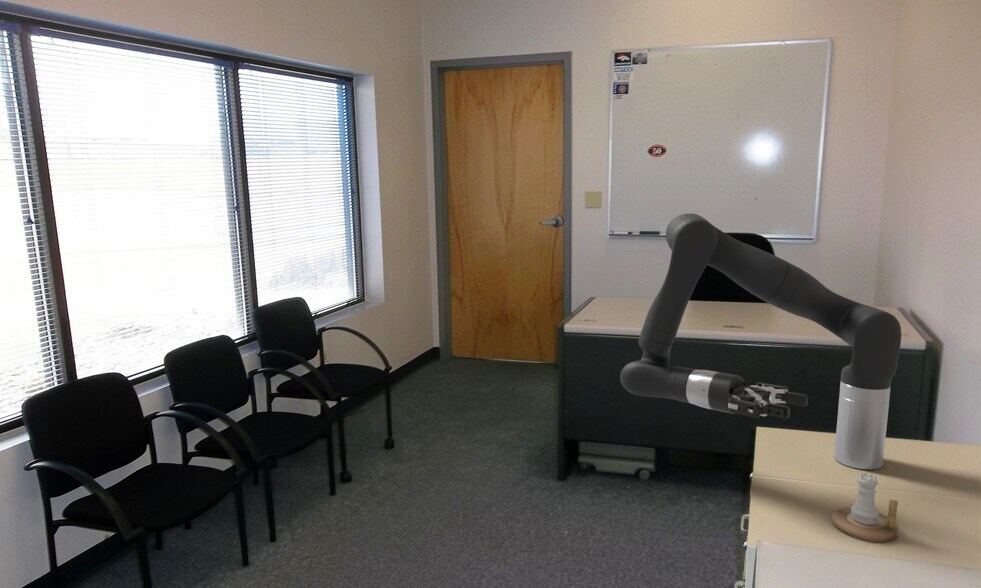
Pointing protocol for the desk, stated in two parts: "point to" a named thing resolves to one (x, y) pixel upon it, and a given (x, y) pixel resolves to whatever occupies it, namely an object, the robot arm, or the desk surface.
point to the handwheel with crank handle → (874, 533)
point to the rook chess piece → (865, 501)
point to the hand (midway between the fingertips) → (798, 407)
